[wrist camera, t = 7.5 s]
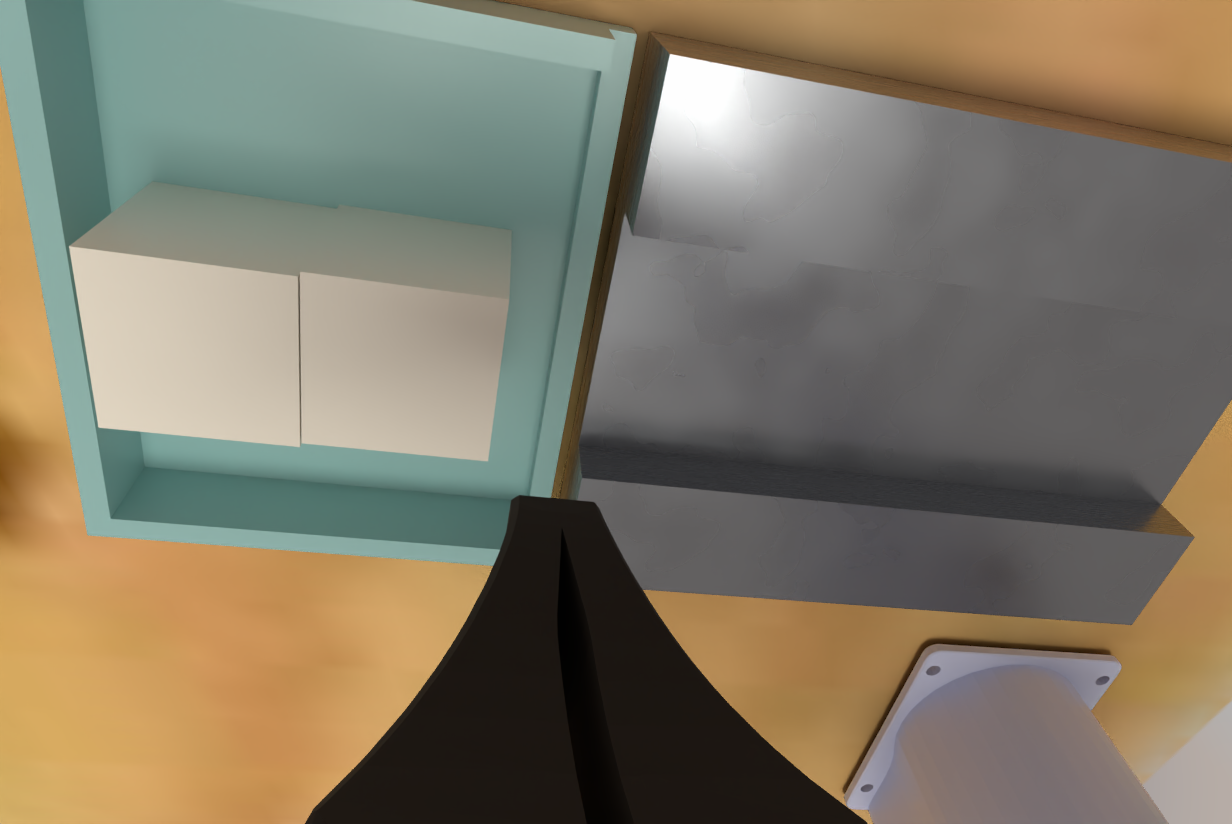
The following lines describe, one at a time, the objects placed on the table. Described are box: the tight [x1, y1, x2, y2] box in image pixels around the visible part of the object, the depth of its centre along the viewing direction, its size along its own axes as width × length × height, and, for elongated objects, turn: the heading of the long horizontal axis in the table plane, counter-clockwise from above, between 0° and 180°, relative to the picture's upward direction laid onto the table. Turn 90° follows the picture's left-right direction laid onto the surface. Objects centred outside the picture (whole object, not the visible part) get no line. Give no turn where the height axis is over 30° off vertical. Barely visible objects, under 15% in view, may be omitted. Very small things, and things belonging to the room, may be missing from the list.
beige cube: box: [69, 181, 336, 447], centre depth 18 cm, size 4×4×4 cm
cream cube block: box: [300, 205, 512, 461], centre depth 19 cm, size 4×4×4 cm
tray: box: [0, 0, 637, 566], centre depth 19 cm, size 14×12×2 cm
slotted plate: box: [559, 31, 1232, 625], centre depth 22 cm, size 14×18×3 cm
